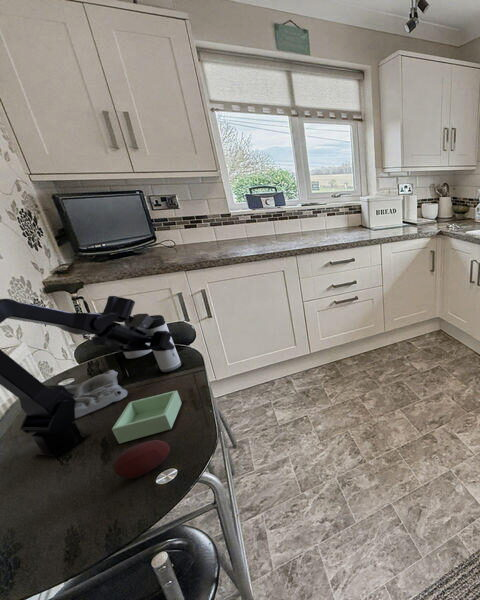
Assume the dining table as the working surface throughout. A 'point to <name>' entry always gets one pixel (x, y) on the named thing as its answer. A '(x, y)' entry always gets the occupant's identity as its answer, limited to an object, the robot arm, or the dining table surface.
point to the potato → (141, 459)
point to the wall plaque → (96, 393)
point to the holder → (147, 416)
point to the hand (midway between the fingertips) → (161, 348)
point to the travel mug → (169, 357)
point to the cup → (136, 352)
